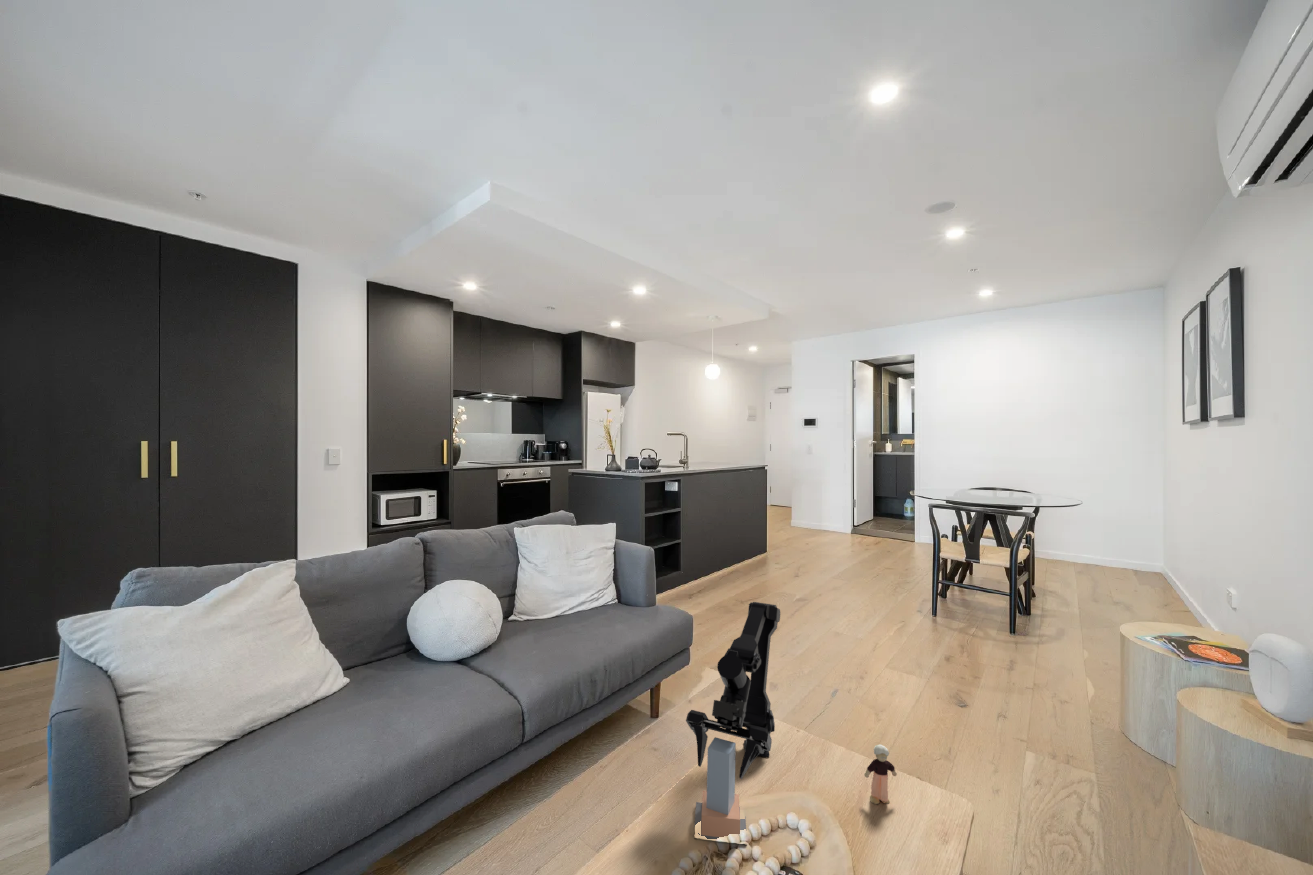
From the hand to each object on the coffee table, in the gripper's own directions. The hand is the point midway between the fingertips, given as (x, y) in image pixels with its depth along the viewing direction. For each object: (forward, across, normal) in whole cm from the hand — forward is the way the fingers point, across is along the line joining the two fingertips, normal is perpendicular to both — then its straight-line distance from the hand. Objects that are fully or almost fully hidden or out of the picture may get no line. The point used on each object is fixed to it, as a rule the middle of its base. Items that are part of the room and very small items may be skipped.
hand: (719, 772), depth 107 cm
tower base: (+8, 0, +10) cm, 13 cm away
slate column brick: (+4, 0, +6) cm, 8 cm away
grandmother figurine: (-11, +31, +29) cm, 44 cm away
